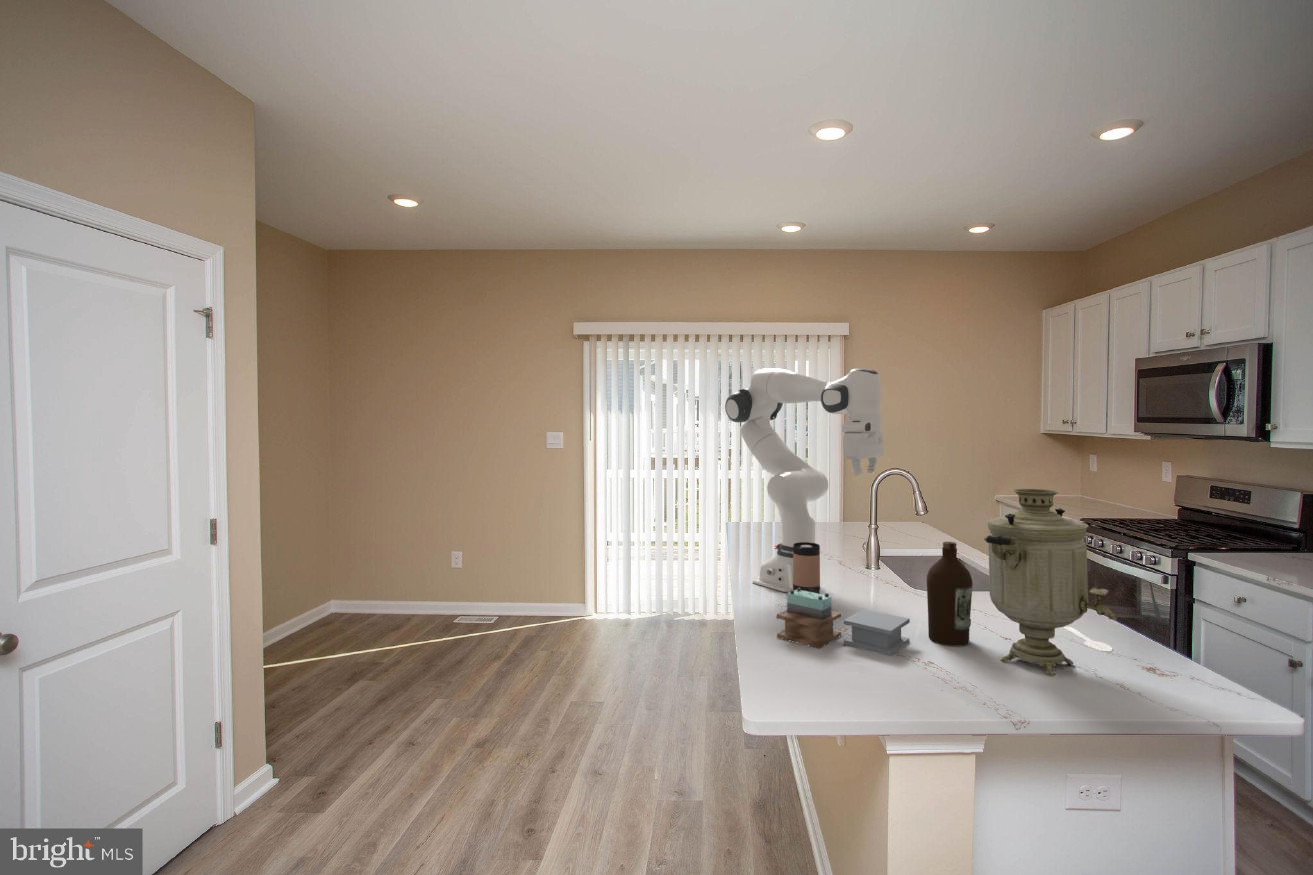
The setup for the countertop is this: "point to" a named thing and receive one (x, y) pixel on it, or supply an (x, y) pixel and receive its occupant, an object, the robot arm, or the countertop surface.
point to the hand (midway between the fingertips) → (864, 473)
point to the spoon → (1090, 641)
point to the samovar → (1039, 575)
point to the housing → (809, 604)
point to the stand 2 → (876, 631)
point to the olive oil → (949, 599)
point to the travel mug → (806, 567)
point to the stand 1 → (808, 629)
